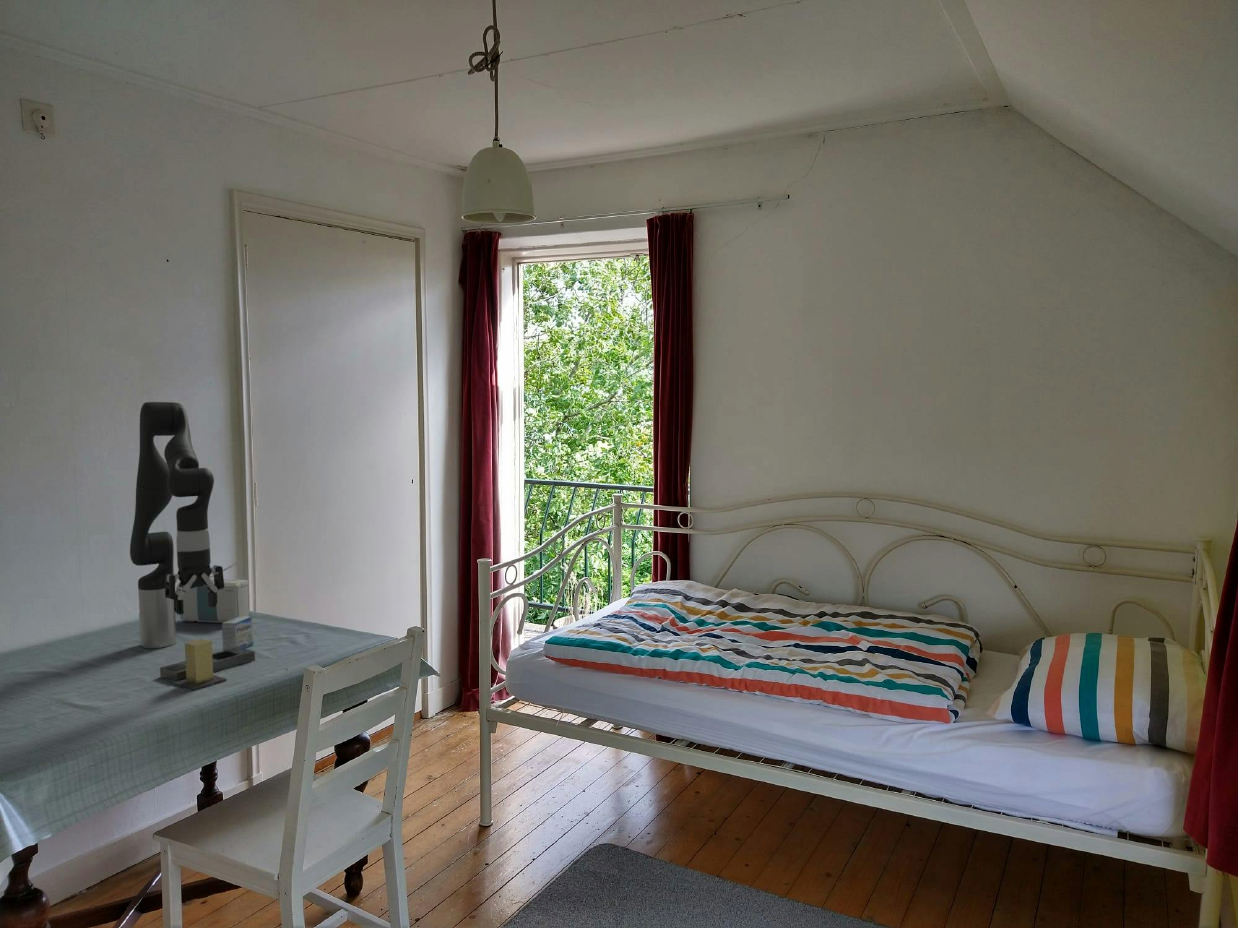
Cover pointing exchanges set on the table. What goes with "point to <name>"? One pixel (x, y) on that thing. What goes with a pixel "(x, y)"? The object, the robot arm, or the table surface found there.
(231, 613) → the stereo radio cassette player
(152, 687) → the table surface
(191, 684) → the rubber mat
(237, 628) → the medicine box
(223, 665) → the rail
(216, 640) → the table surface
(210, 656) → the brass block
